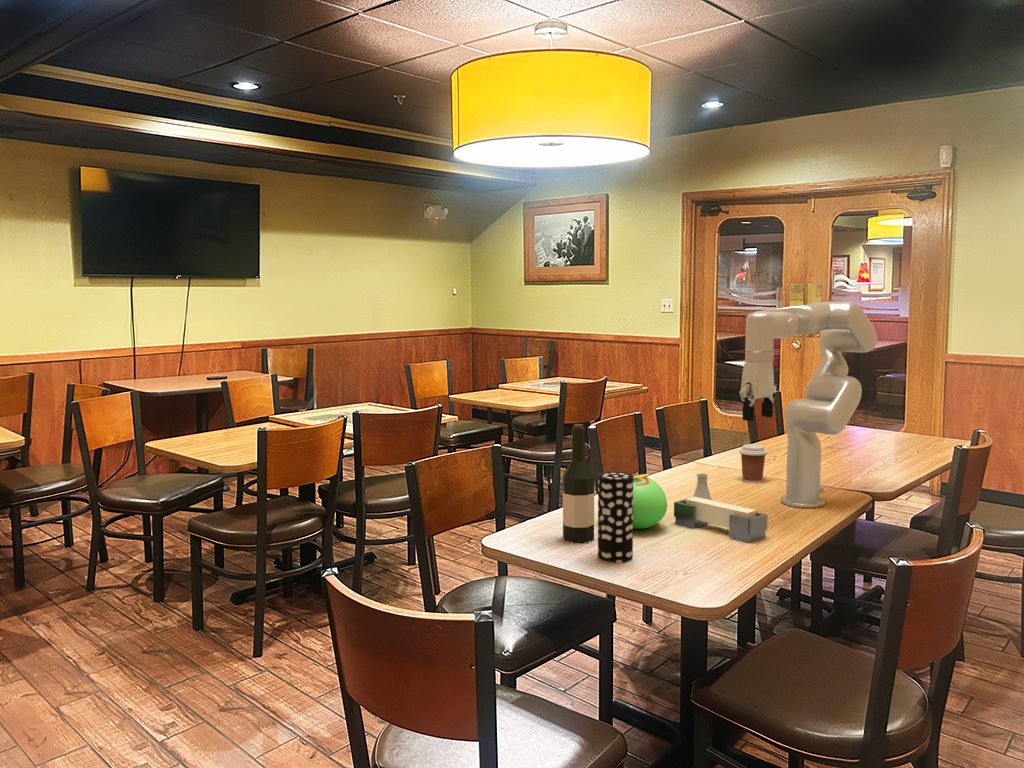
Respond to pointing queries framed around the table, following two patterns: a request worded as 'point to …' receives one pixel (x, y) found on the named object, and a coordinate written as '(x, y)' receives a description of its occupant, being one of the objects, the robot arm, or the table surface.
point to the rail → (718, 511)
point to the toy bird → (647, 502)
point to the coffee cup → (752, 462)
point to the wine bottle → (578, 493)
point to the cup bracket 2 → (747, 527)
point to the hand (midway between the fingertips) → (757, 418)
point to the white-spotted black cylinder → (615, 517)
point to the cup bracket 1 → (686, 515)
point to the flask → (702, 487)
